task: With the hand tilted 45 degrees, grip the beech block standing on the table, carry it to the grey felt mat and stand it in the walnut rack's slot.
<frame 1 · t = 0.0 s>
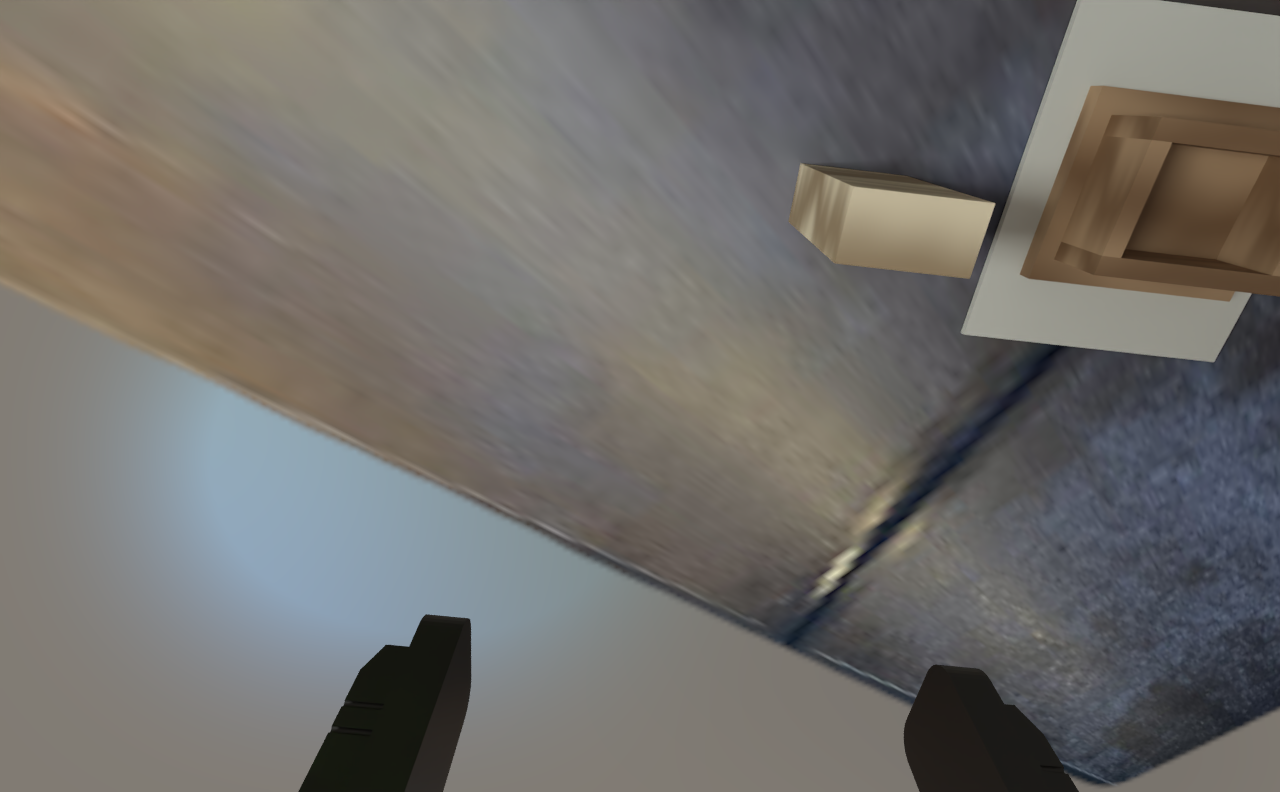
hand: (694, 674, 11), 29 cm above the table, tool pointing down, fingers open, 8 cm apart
rack: (1157, 198, 35), resting on mat
beech block: (846, 199, 36), on the table
mat: (1152, 197, 35), on the table
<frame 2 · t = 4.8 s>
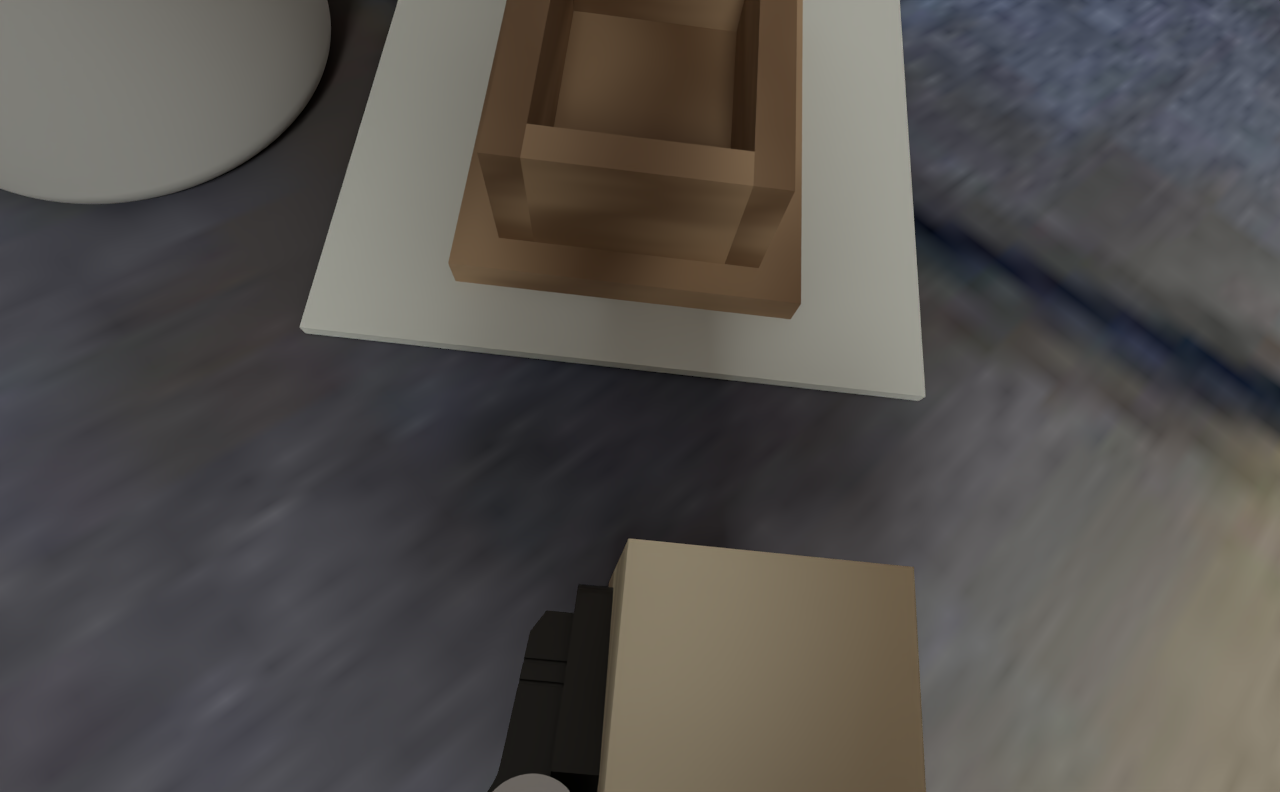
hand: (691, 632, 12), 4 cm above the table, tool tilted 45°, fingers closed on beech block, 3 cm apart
rack: (642, 138, 21), resting on mat
beech block: (660, 715, 15), on the table, touching gripper
cylinder vase: (148, 62, 21), on the table
mat: (641, 146, 21), on the table
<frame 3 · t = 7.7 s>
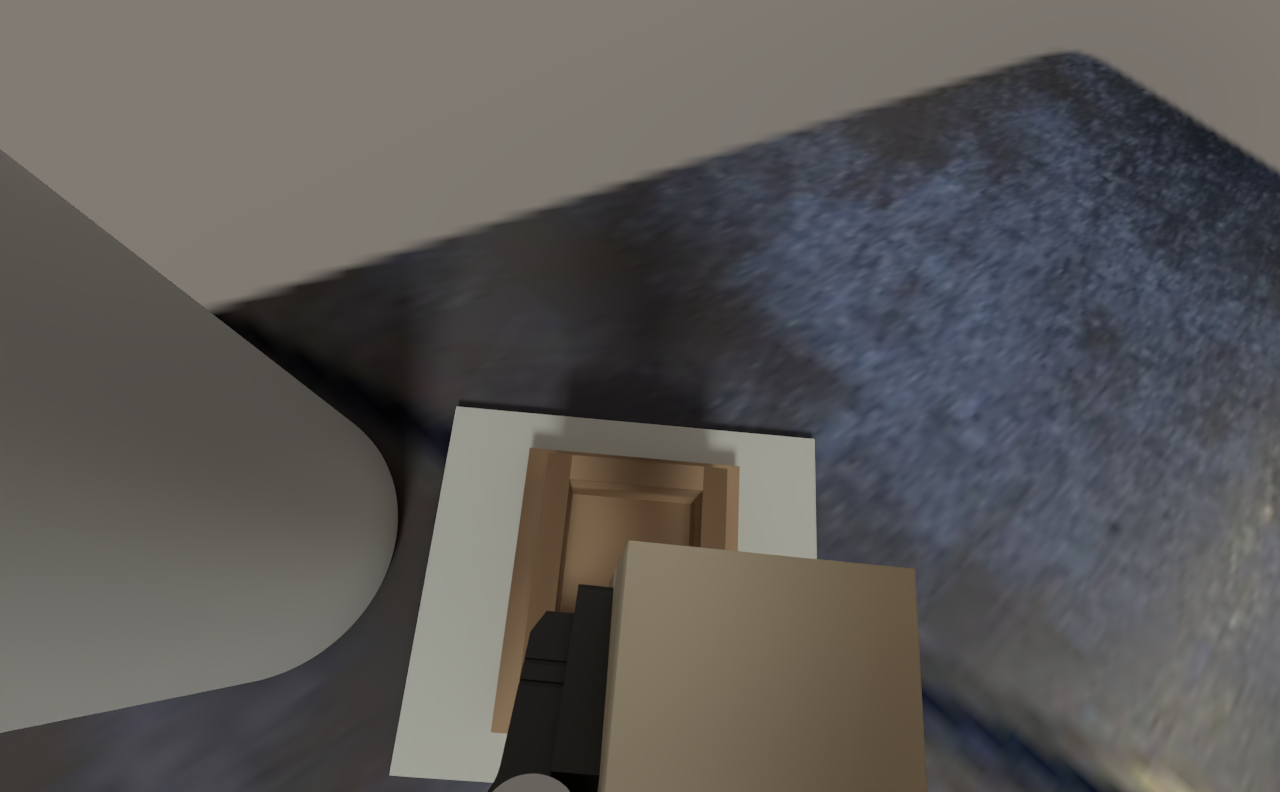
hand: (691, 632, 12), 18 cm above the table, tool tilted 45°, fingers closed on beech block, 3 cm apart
rack: (624, 589, 29), resting on mat
beech block: (660, 716, 15), point 13 cm above the table, touching gripper
cylinder vase: (266, 534, 29), on the table
mat: (623, 590, 29), on the table
when the fingers open (8 cm above the table, at t = 10.4 s): beech block stays where it is, resting on rack.
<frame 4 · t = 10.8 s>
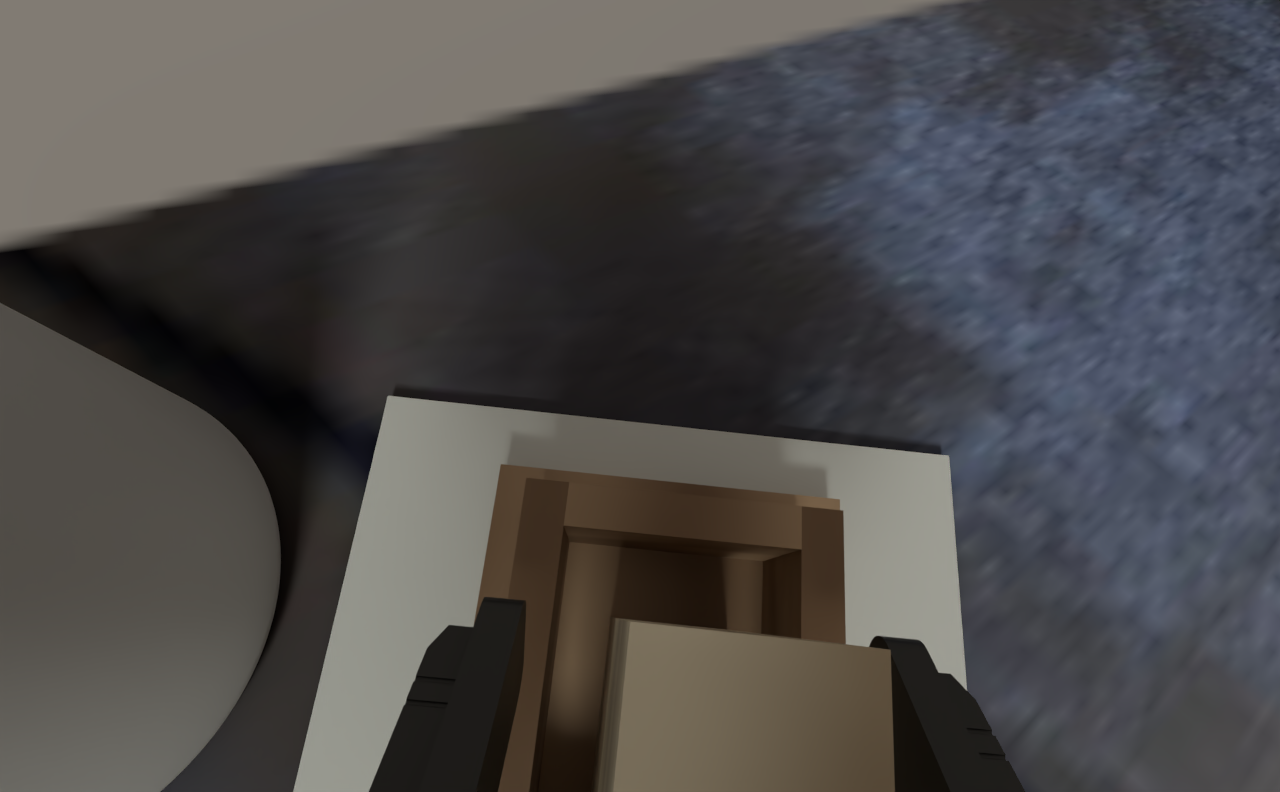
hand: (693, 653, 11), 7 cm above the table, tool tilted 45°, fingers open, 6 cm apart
rack: (651, 703, 17), resting on mat
beech block: (658, 747, 16), point 1 cm above the table, touching rack
cylinder vase: (64, 600, 18), on the table
mat: (650, 701, 18), on the table
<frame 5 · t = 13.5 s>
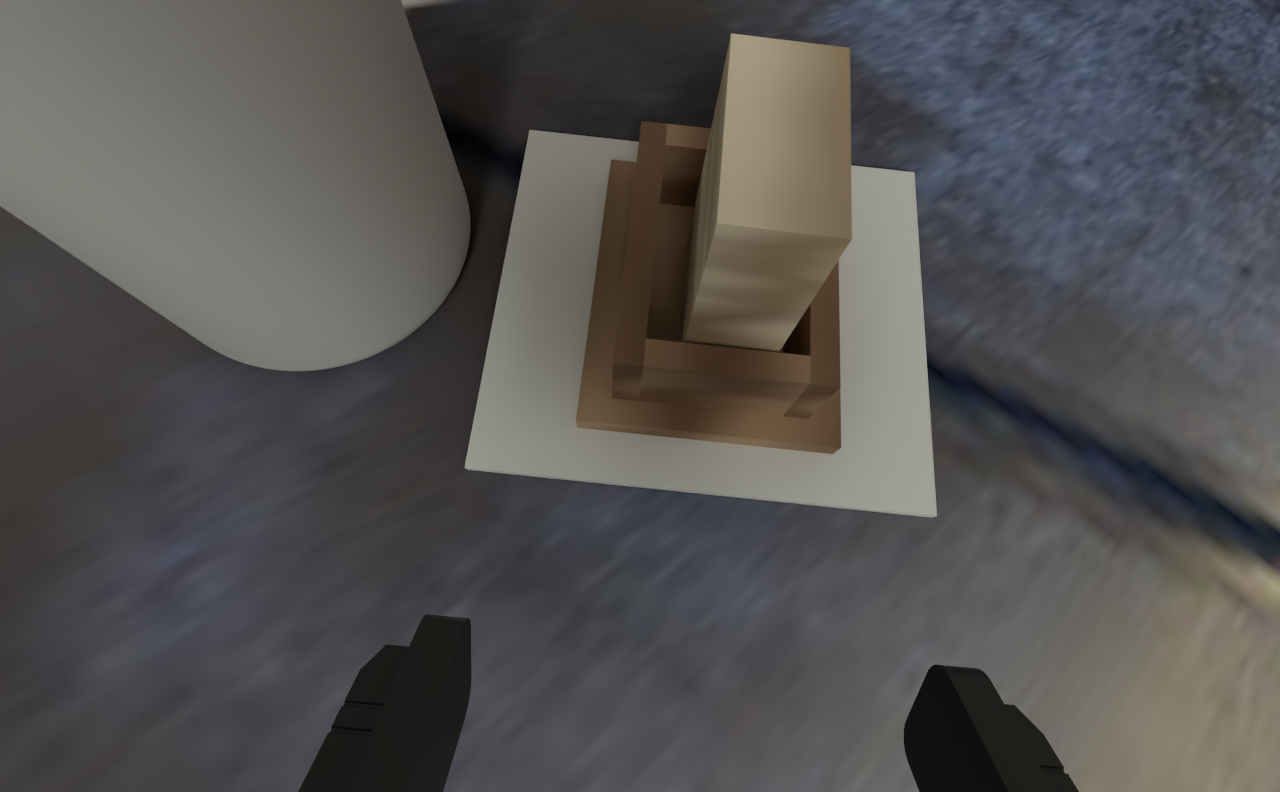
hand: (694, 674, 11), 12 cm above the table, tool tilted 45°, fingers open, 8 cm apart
rack: (713, 304, 26), resting on mat
beech block: (720, 312, 25), point 1 cm above the table, touching rack
cylinder vase: (329, 245, 27), on the table
mat: (711, 308, 27), on the table
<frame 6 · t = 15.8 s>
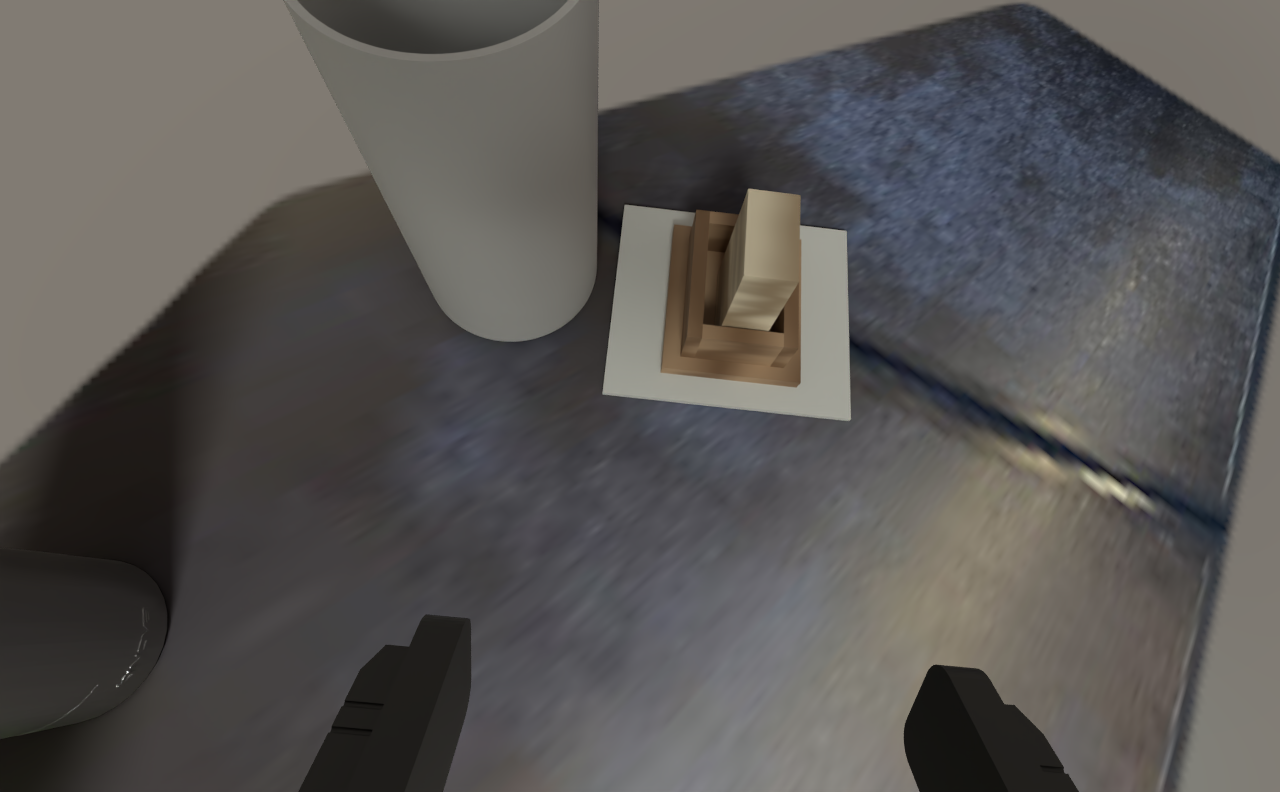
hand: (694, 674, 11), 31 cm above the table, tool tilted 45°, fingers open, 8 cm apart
rack: (732, 306, 47), resting on mat
beech block: (736, 311, 46), point 1 cm above the table, touching rack
cylinder vase: (515, 272, 48), on the table
mat: (731, 309, 48), on the table
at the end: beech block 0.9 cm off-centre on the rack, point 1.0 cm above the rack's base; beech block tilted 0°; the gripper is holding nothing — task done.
